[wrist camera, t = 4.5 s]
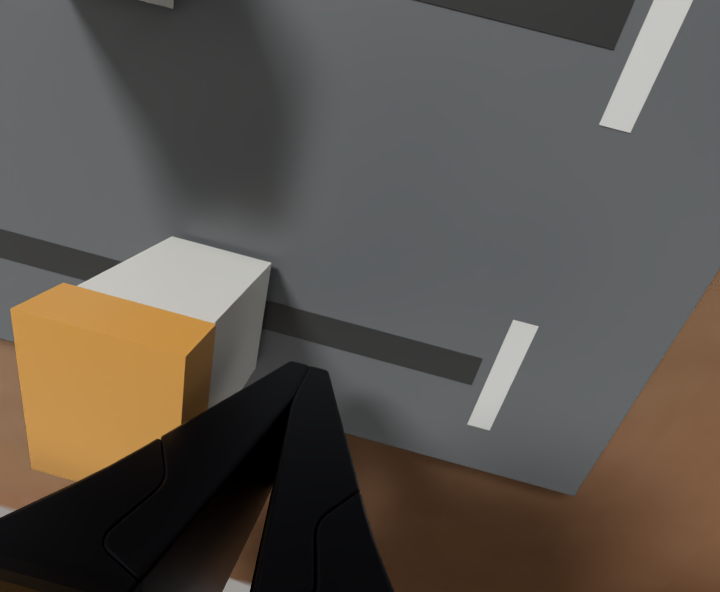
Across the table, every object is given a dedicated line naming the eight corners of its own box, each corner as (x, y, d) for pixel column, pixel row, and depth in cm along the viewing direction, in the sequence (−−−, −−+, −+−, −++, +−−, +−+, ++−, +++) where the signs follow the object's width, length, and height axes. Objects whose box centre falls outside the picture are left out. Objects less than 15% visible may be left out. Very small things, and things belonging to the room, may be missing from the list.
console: (838, -59, 8) (960, -108, 6) (553, 443, 14) (574, 496, 12) (-249, -325, 9) (-430, -442, 7) (-101, 265, 14) (-180, 289, 12)
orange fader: (276, 259, 10) (185, 357, 6) (258, 371, 11) (175, 509, 7) (168, 230, 10) (10, 309, 6) (163, 345, 11) (31, 469, 7)
